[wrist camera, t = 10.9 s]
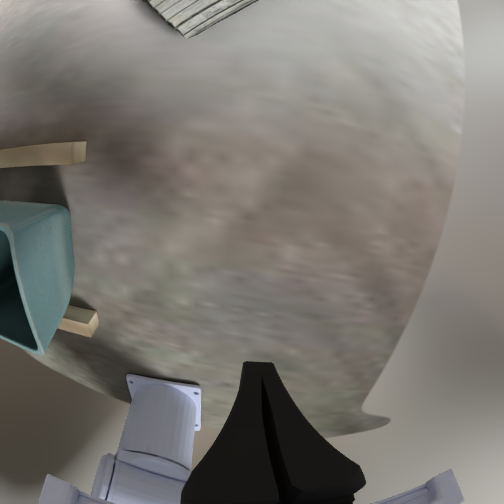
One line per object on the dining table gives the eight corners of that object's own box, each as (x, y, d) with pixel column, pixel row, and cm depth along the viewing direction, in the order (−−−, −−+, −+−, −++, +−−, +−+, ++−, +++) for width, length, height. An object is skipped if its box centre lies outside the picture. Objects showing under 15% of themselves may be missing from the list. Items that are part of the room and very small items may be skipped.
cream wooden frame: (99, 324, 22) (91, 337, 20) (6, 298, 21) (-4, 307, 19) (86, 141, 16) (72, 142, 14) (-14, 152, 15) (-28, 155, 13)
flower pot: (96, 290, 21) (45, 360, 12) (26, 273, 20) (-29, 324, 11) (90, 187, 17) (10, 225, 9) (16, 183, 16) (-57, 214, 8)
